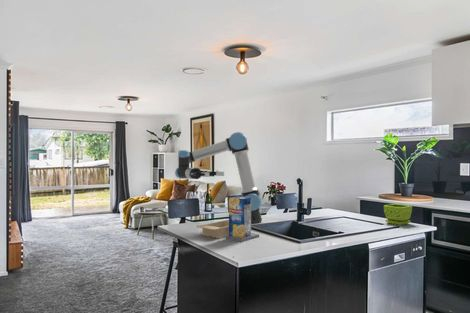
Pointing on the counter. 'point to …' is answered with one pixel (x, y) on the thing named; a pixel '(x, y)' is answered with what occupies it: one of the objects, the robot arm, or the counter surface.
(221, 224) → the wooden tray
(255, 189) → the robot arm
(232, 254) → the counter surface
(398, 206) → the flower pot
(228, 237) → the mat
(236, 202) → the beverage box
